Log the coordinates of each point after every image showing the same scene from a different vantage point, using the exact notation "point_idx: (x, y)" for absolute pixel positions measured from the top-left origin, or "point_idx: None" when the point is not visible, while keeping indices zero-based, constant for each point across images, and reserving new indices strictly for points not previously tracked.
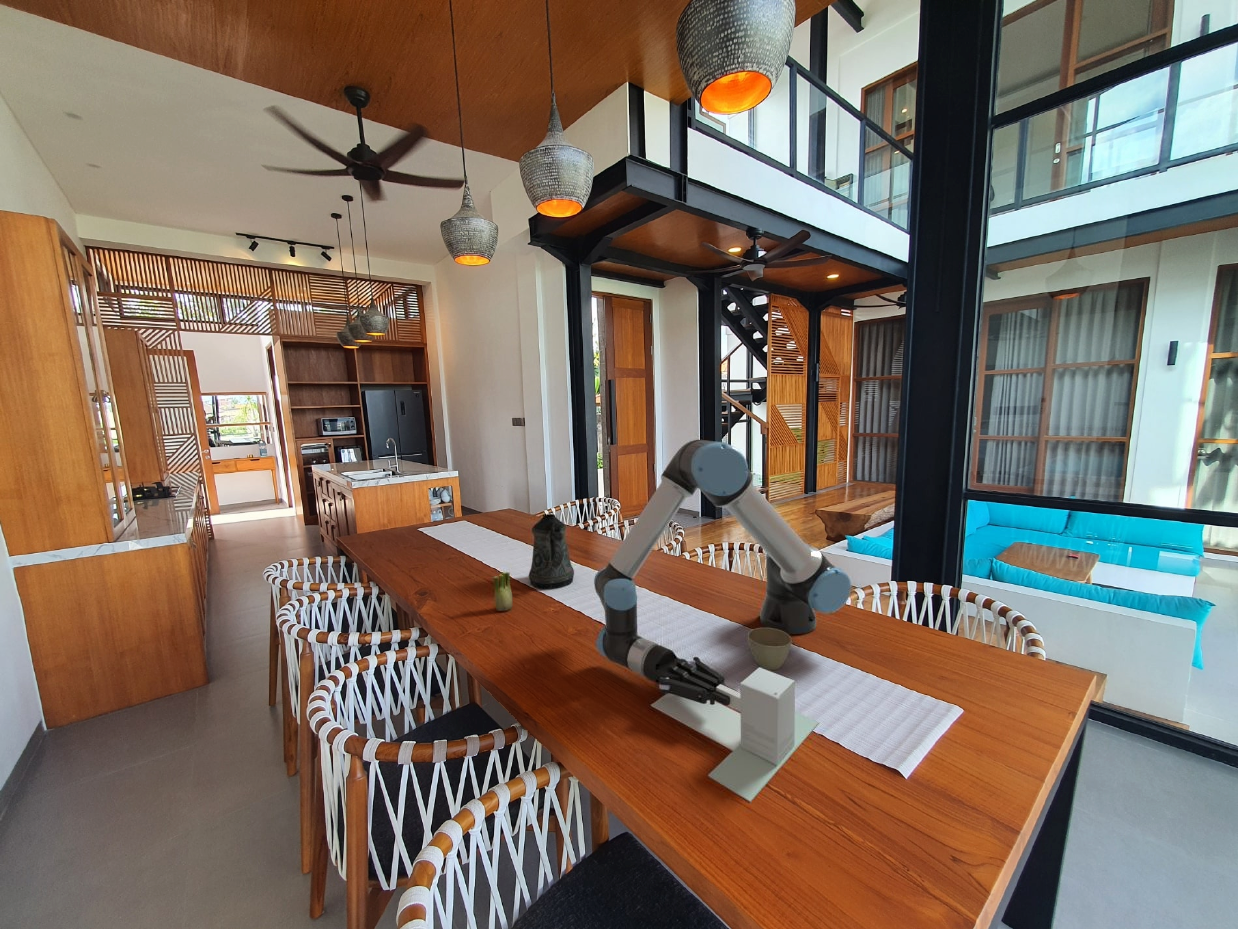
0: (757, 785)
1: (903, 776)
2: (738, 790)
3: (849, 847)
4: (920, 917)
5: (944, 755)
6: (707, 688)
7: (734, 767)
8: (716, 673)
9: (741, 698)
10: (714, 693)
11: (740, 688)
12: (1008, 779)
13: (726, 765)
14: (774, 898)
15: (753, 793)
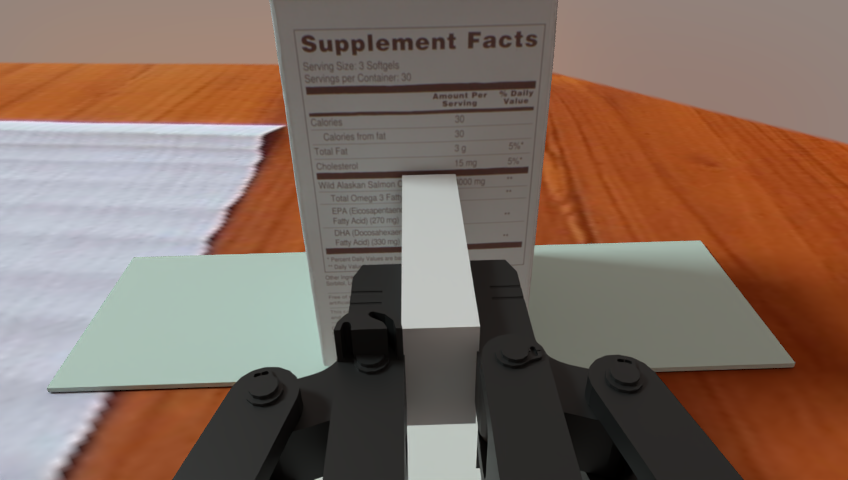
0: (628, 252)
1: (280, 128)
2: (711, 272)
3: (571, 130)
4: (590, 82)
5: (149, 112)
6: (553, 378)
7: (645, 324)
8: (209, 467)
9: (549, 93)
10: (531, 337)
11: (555, 27)
12: (178, 75)
13: (671, 346)
14: (814, 151)
15: (667, 246)
